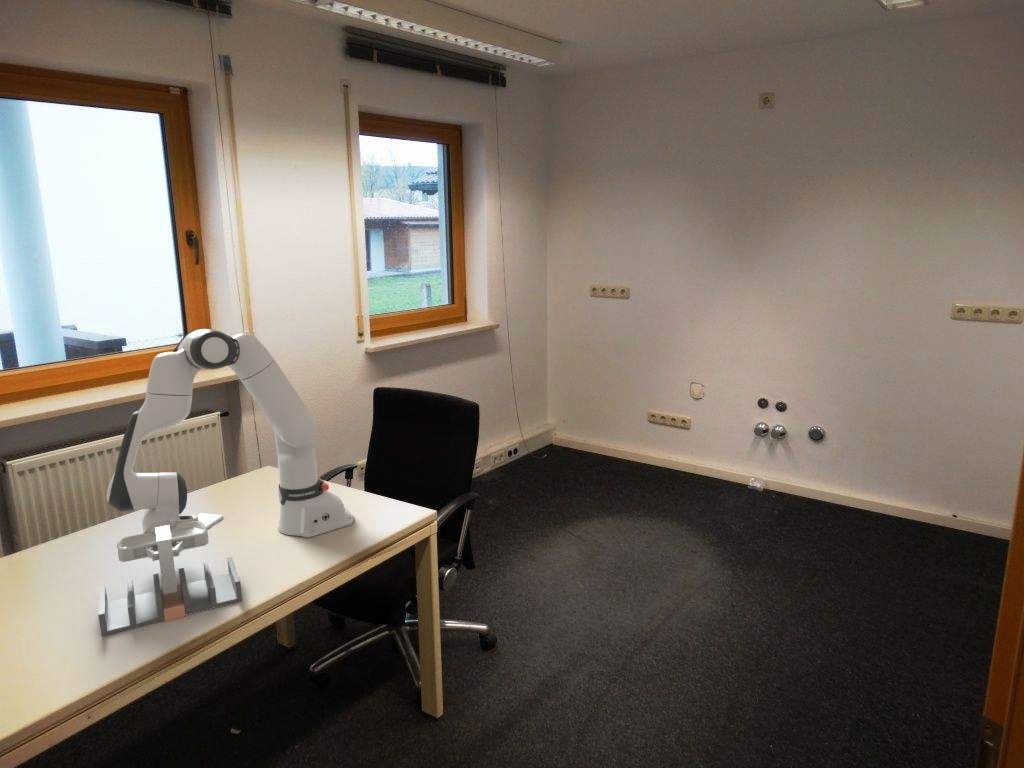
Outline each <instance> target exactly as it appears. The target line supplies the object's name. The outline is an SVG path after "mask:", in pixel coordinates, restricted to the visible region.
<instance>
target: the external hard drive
mask: <svg viewBox="0 0 1024 768" xmlns="http://www.w3.org/2000/svg"><path fill="white" fill-rule="evenodd" d="M196 516H197V517H198V520H199V521H200V522H202V523H203V524H204V525H205V527H206V529H207V528H208V529H209V528H210V526H211V527H212V526H214V525H215V524H217V523H218V522H219V520H220V521H221V520H223V519H224V515H222V514H214V513H207V512H200V513H199V514H197V515H196ZM213 524H214V525H213ZM208 529H207V530H208Z"/></svg>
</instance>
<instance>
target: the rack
mask: <svg viewBox="0 0 1024 768" xmlns="http://www.w3.org/2000/svg"><path fill="white" fill-rule="evenodd" d="M226 561H227V568H228V569H227V570H228V573H226V574H221V575H216V576H213V575H212V571H211V568H210V563H209V562H203V563H202V565H203V572H204V574H203V575H204V579H200V580H196V581H191V582H187V578H186V573H185V567H182V568H178V573H179V574H178V575H179V581H180V583H179V584H177V592H174V593H169V594H165V595H164V594H163V588H161V581H160V573H154V574H152V576H153V586H154V590H153V591H148V592H144V593H139V594H135V589H134V588H135V587H134V581H133V578H131V579H127V580H126V595H127V596H126V597H122V598H117V599H114V600H110V601H109V600H108V594H107V593H108V592H107V587H106V585H100V586H99V593H98V594H99V595H98V612H97V613H98V621H99V628H100V634H101V637H104V636H109V635H112V634H117V633H120V632H124V630H125V631H129V630H133V629H137V628H140V626H141V627H144V625H145V626H148V625H152V624H157V623H160V622H170V621H174V620H177V618H178V619H181V617H182V618H185V617H184V616H187V615H186V614H189V615H191V614H190V613H192V614H195V613H194V612H196V613H200V612H203V611H202V610H204V611H207V610H206V609H208V610H211V609H210V608H212V609H214V608H213V607H216V608H218V607H217V606H220V607H222V606H221V605H224V606H227V605H226V604H228V605H231V603H232V604H235V602H236V603H239V602H238V601H240V602H243V594H242V586H241V579H240V577H239V573H238V571H237V567H236V565H235V561H234V559H233V556H231V557H230V556H229V557H227V559H226ZM199 611H200V612H199ZM173 619H174V620H173ZM136 627H137V628H136ZM128 629H129V630H128ZM116 632H117V633H116Z"/></svg>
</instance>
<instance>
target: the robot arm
mask: <svg viewBox="0 0 1024 768" xmlns="http://www.w3.org/2000/svg"><path fill="white" fill-rule="evenodd" d="M225 367H229V368H230V369H231V370H232V371H233V372H234V373H235V375H236V376H237V378H238V379H239V381H240V382H241V383H242V384H243V386H244V387H245V390H246V391H247V392H248V394H250V396H251V397H252V398H253V401H255V403H256V405H257V406H258V407H259V409H260V411H261V412H262V414H263V415H264V417H265V418H266V420H267V421H268V423H269V424H270V426H271V427H272V428H273V432H274V441H275V449H276V456H277V465H278V477H279V479H278V480H279V484H278V499H279V503H280V513H279V521H278V524H277V525H278V526H277V530H278V532H280V533H282V534H284V535H287V536H297V537H302V538H312V537H316V536H318V535H322V534H325V533H328V532H331V531H335V530H337V529H340V528H344V527H348V526H350V525H352V524H353V523H354V515H353V514H352V512H351V511H350V510H349V509H348V508H347V507H345V505H344V503H343V500H342V499H341V498H340V497H339V496H338V495H336V494H334V493H332V492H330V491H328V490H330V486H329V484H328V483H327V482H325V481H324V480H322V479H321V478H320V477H318V467H317V454H316V449H315V442H314V439H315V437H316V434H317V421H316V418H314V416H313V414H312V412H311V411H310V408H309V407H308V406H307V404H306V403H304V401H303V400H302V398H301V397H300V395H299V393H298V392H297V390H296V389H295V387H293V384H292V383H291V382H290V380H289V378H288V377H287V376H286V374H285V372H284V371H283V370H282V368H281V367H280V365H279V364H278V363H277V360H275V358H274V357H273V356H272V354H271V353H270V351H269V350H268V349H267V348H266V347H265V346H264V345H263V343H262V342H261V341H260V340H259V339H258V338H257V337H255V336H254V335H253V334H252V333H248V332H242V333H241V332H240V333H238V334H235V335H233V336H230V335H228V334H226V333H225V332H222V331H219V330H216V329H210V328H200V329H196V330H192V331H190V332H187V333H186V334H185V335H184V336H183V337H182V338H181V340H180V341H179V343H178V344H177V345H176V346H175V348H174V349H173V351H165V352H163V353H162V352H161V353H159V354H157V355H156V356H154V357H153V359H152V361H151V365H150V368H149V373H148V378H147V384H146V394H145V399H144V402H143V404H142V406H141V407H140V408H139V409H138V410H136V411H134V412H132V414H131V416H130V417H129V420H128V422H127V425H126V429H125V432H124V434H123V438H122V442H121V446H120V450H119V452H118V456H117V461H116V463H115V464H116V465H115V468H114V472H113V475H112V477H111V479H110V481H109V484H108V487H107V490H106V500H107V503H108V505H109V506H110V507H111V508H113V509H114V510H116V511H118V512H119V513H121V512H122V513H123V512H132V511H137V510H140V511H141V510H144V511H143V514H142V533H140V534H135V535H134V534H133V535H129V536H125V537H123V538H122V539H121V540H120V541H118V542H116V549H117V555H118V556H117V557H118V560H119V561H120V562H123V563H125V562H131V561H136V560H140V559H145V558H148V559H152V561H153V562H155V561H159V554H158V546H157V537H156V529H155V528H158V527H163V526H168V525H169V528H170V534H171V541H172V550H173V558H176V557H179V556H180V553H182V552H183V551H185V550H189V549H195V548H199V547H205V546H207V545H208V544H209V543H210V542H209V533H208V529H206V527H205V525H204V524H203V523H202V522H200V521H199V520H198V517H197V515H181V514H182V513H183V512H184V510H185V509H186V506H187V502H188V488H187V482H186V479H185V478H184V477H183V476H182V475H181V474H180V473H179V472H177V471H175V472H174V471H172V472H171V471H165V472H162V471H159V472H135V471H134V470H133V468H134V466H135V462H136V458H137V454H138V450H139V447H140V444H141V442H142V441H143V440H144V439H145V438H146V437H147V436H149V435H151V434H154V433H156V432H157V433H158V432H159V431H163V430H167V429H169V428H173V427H174V426H176V425H179V424H180V423H182V422H183V421H185V420H186V418H187V417H188V416H189V415H190V413H191V408H192V404H193V403H192V402H193V390H194V389H193V386H194V385H193V384H194V381H195V378H196V375H197V374H198V373H199V372H200V371H202V370H203V371H204V370H205V371H207V370H209V371H210V370H212V371H213V370H219V369H221V368H225Z"/></svg>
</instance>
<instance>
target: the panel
mask: <svg viewBox="0 0 1024 768" xmlns="http://www.w3.org/2000/svg"><path fill="white" fill-rule="evenodd" d="M155 529H156V537H157V546H158V554H159V560H158V562H159V568H160V569H159V570H160V578H161V586H162V589H163V594H164V595H165V594H169V593H174V592H177V585H178V584H177V577H176V568H175V557H173V550H172V541H171V534H170V528H169V525H168V526H163V527H158V528H155Z"/></svg>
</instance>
